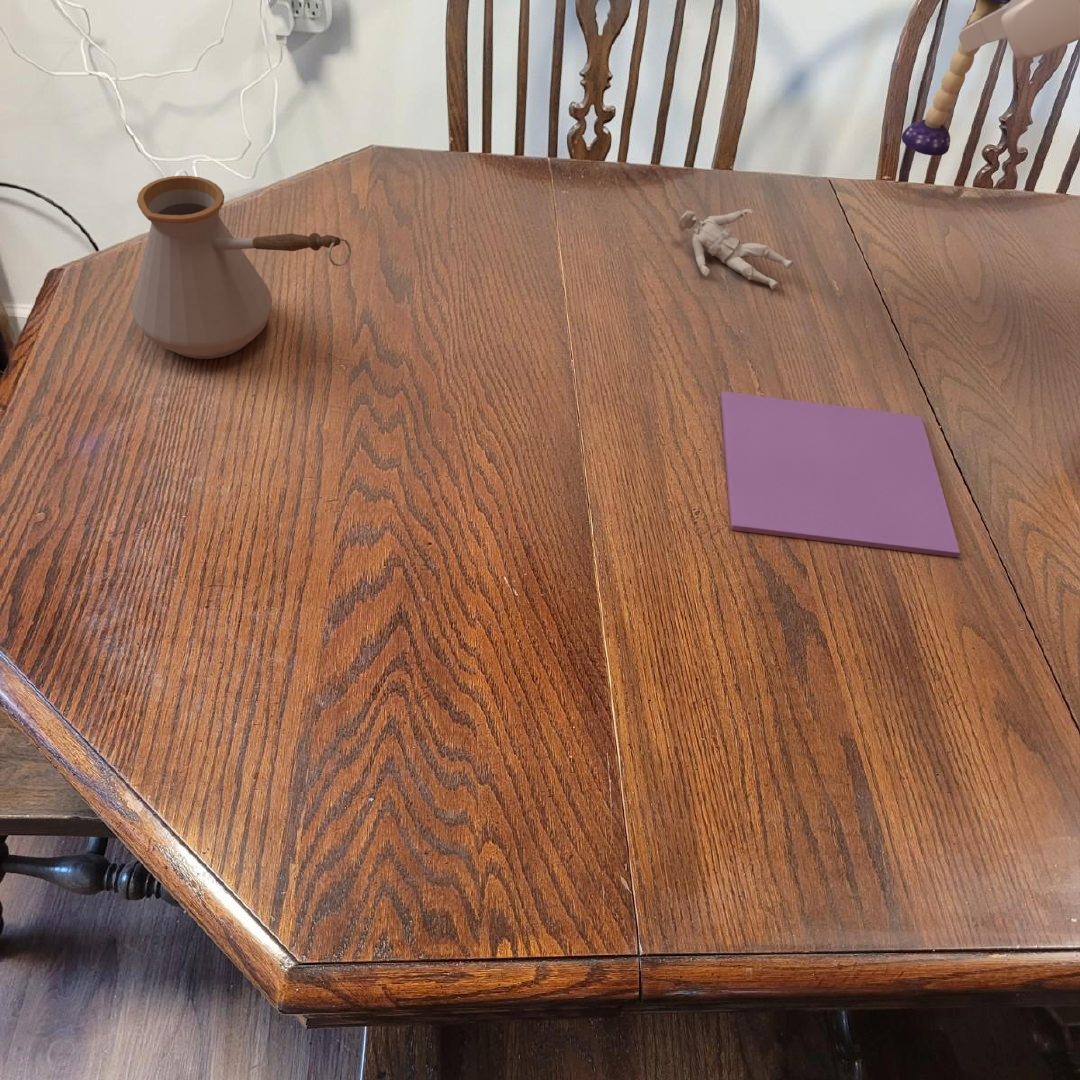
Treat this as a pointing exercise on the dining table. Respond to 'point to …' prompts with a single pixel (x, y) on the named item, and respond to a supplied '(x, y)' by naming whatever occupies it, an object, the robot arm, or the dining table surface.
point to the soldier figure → (728, 245)
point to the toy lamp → (945, 96)
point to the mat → (833, 475)
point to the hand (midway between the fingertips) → (966, 34)
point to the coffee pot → (203, 271)
